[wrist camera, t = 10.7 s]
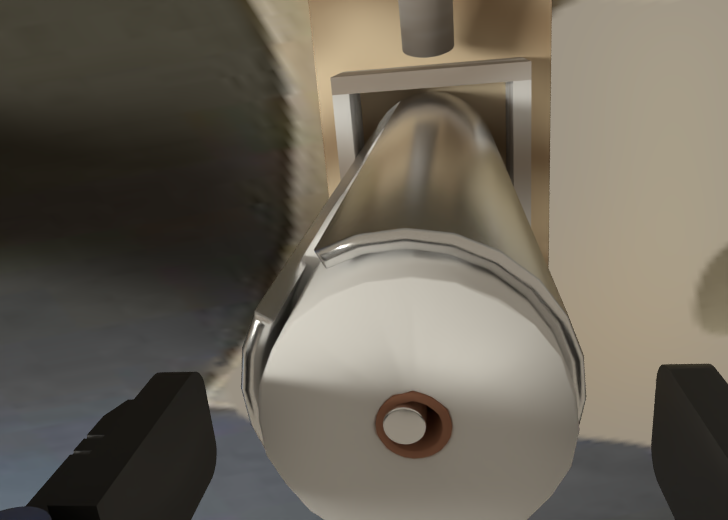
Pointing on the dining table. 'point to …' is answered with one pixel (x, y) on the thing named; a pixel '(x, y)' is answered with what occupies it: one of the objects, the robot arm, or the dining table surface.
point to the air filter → (418, 337)
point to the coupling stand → (440, 78)
